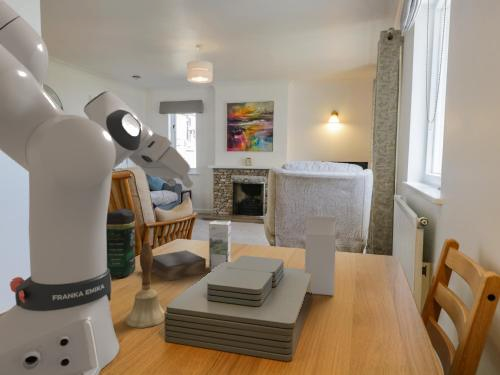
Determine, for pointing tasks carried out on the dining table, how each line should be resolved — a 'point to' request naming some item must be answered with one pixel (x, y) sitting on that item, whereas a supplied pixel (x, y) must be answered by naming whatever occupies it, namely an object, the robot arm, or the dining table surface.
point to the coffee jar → (120, 242)
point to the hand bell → (146, 296)
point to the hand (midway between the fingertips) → (181, 185)
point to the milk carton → (320, 253)
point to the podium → (178, 265)
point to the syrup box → (219, 243)
